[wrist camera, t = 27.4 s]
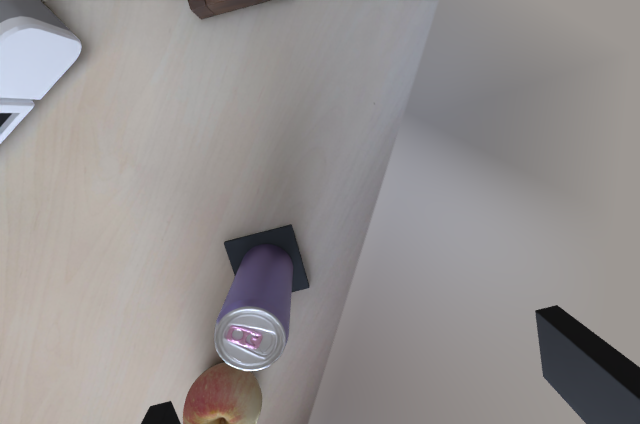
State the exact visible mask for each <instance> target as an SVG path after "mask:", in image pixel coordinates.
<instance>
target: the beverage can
mask: <svg viewBox="0 0 640 424" xmlns="http://www.w3.org/2000/svg"><path fill="white" fill-rule="evenodd" d="M292 279H293V264H292V260H291V258H290V256H289V255H288V254H287V253H286V252H285V251H284V250H283V249H282V248H280V247H278V246H275V245H271V244H262V245H258V246H255V247H253V248H252V249H250V250H249V251H248V252H247V253H246V254H245V256H244V257H243V259H242V262H241V264H240V266H239V269H238V271H237V273H236V276H235V278H234V280H233V283H232V285H231V288H230V290H229V292H228V295H227V297H226V299H225V302H224V304H223V306H222V309H221V311H220V313H219V316H218V318H217V320H216V324H215V333H214V344H215V348H216V350H217V352H218V354H219V356H220V357H221V358H222V359H223V360H224V361H225V362H226V363H227V364H229V365H230V366H232V367H234V368H237V369H240V370H245V371H255V370H261V369H264V368H266V367H268V366H270V365H272V364H273V363H274V362H276V361H277V360H278V358H279V357H280V356H281V354H282V352H283V350H284V348H285V345H286V343H287V340H288V335H289V321H290V307H291V293H292Z"/></svg>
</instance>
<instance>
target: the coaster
mask: <svg viewBox="0 0 640 424" xmlns="http://www.w3.org/2000/svg"><path fill="white" fill-rule="evenodd" d="M262 244H271V245H275V246H278V247H280V248H282V249H283V250H284V251H285V252H286V253H287V254H288V255H289V256H290V258H291V260H292V264H293V279H292V292H295V291H299V290H303V289H307V288H309V283H308V280H307V276H306V273H305V269H304V266H303V262H302V259H301V255H300V252H299V248H298V245H297V241H296V238H295V234H294V231H293V227H292V225H287V226H283V227H279V228H276V229H272V230H268V231H264V232H260V233H256V234H252V235H248V236H244V237H241V238H237V239H233V240H229V241H225V242H224V245H225V248H226V251H227V254H228V257H229V260H230V263H231V266H232V268H233V271H234V274H235V276H236V273H237V271H238V269H239V266H240V264H241V262H242V259H243V257H244V256H245V254H246V253H247V252H248V251H249V250H250V249H252V248H253V247H255V246H258V245H262Z"/></svg>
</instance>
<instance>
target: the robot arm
mask: <svg viewBox="0 0 640 424" xmlns="http://www.w3.org/2000/svg"><path fill="white" fill-rule="evenodd" d="M535 312H536V320H537V329H538V337H539V346H540V354H541V362H542V371H543V377H544V378H545V379H546V380H547V381H548V382H549V383H550V385H551V386H552V387H553V388H554V389H555V390H556V391H557V392H558V393H559V394H560V395H561V397H562V398H563V399H564V400H565V401H566V402H567V403H568V404H569V405H570V406H571V407H572V409H573V410H574V411H575V412H576V413H577V414H578V415H579V416H580V417H581V419H582V420H583V421H584V422H585V423H586V424H640V367H638V366H637V365H636V364H634V363H633V362H632V361H630V360H629V359H628V358H626V357H625V356H624V355H622V354H621V353H620V352H618V351H617V350H616V349H614V348H613V347H612V346H611V345H609V344H608V343H607V342H605V341H604V340H603V339H601V338H600V337H599V336H597V335H596V334H594V333H593V332H592V331H590V330H589V329H588V328H587V327H585V326H584V325H583V324H581V323H580V322H579V321H577V320H576V319H575V318H573V317H572V316H571V315H569V314H568V313H567V312H565V311H564V310H563V309H561V308H560V307H558V306H557V305H556V306H552V307H548V308H544V309H540V310H536V311H535ZM141 424H181V423H180V421H179V419H178V416H177V414H176V412H175V409H174V407H173V405H172V402H171V401H169V402H165V403H161V404H157V405H153V406H150V408H149V409H148V411H147V413H146V415H145V417H144V419H143V421H142V423H141Z"/></svg>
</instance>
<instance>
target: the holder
mask: <svg viewBox="0 0 640 424" xmlns="http://www.w3.org/2000/svg"><path fill="white" fill-rule="evenodd" d="M266 1H270V0H188V3H189V6H190V9H191V10H192V11H193V12H194V13H195V14H196V15H197V16H198V17H199V18H200V19H204V18H207V17H211V16H214V15H218V14H222V13H226V12H229V11H233V10H237V9H240V8H244V7H248V6H251V5H255V4H259V3H262V2H266Z"/></svg>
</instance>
